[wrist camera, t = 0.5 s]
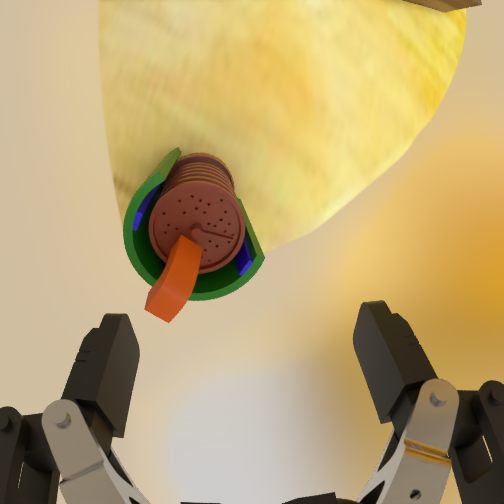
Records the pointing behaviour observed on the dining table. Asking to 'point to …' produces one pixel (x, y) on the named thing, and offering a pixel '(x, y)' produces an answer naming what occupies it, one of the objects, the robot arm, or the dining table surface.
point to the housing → (446, 4)
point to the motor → (189, 234)
